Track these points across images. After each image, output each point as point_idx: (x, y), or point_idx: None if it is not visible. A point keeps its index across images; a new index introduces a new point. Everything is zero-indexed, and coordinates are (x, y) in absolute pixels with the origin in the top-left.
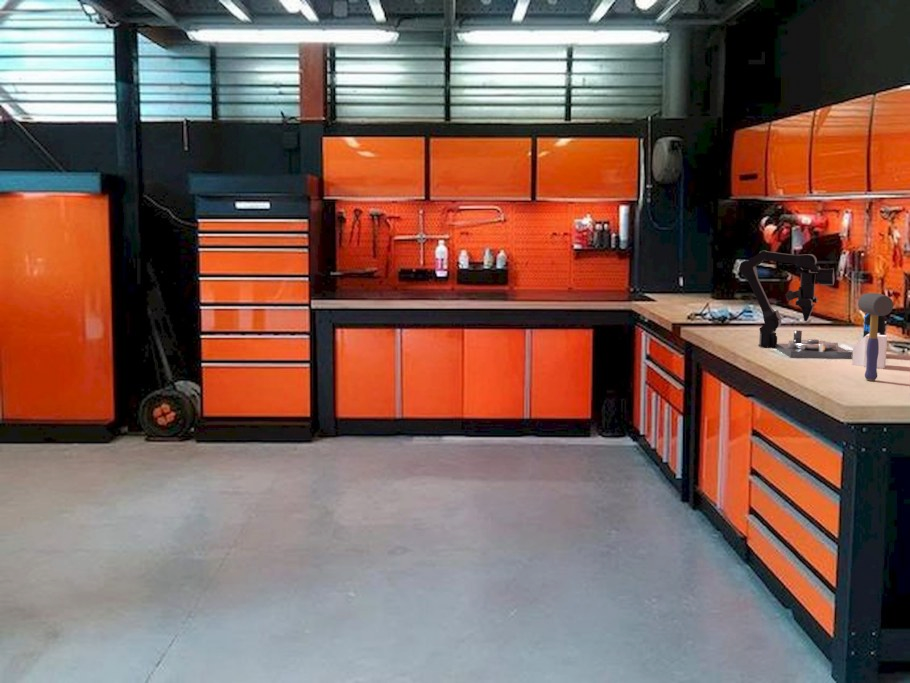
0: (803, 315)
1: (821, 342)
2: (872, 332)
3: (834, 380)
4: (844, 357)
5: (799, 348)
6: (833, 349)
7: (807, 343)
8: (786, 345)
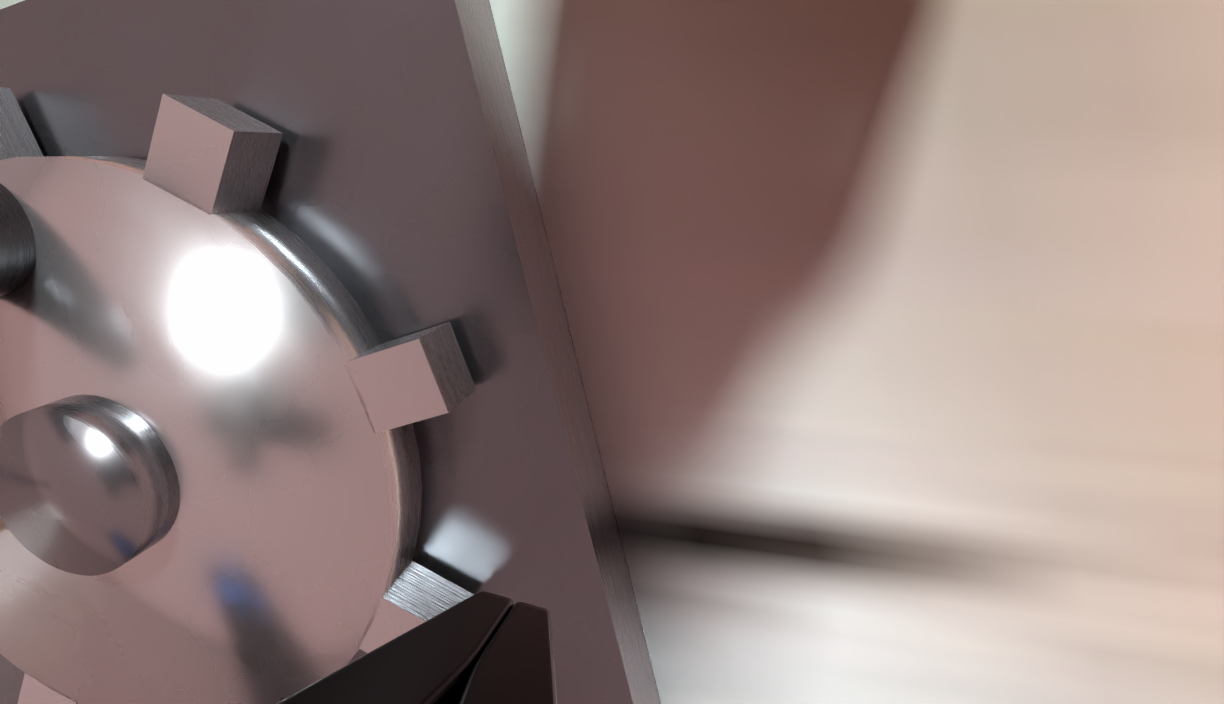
0: (305, 699)
1: (216, 600)
2: None
3: None
4: None
5: None
6: None
7: (3, 387)
8: (235, 63)
